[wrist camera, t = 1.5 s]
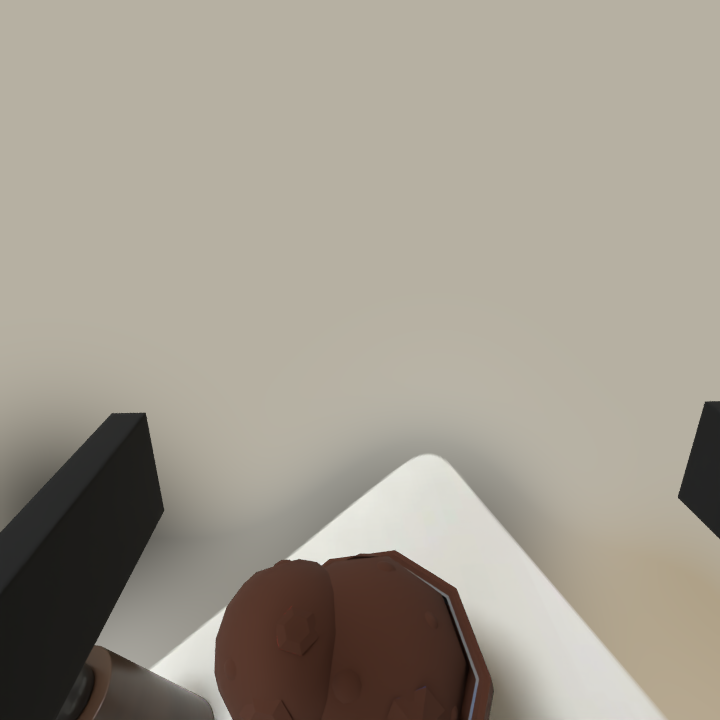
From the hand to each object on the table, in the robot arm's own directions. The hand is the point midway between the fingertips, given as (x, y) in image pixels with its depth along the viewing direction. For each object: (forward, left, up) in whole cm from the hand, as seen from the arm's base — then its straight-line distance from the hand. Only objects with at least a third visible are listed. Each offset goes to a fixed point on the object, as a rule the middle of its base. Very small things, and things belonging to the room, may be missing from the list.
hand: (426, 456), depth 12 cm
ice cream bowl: (+7, -2, -21) cm, 22 cm away
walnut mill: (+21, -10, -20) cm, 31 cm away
